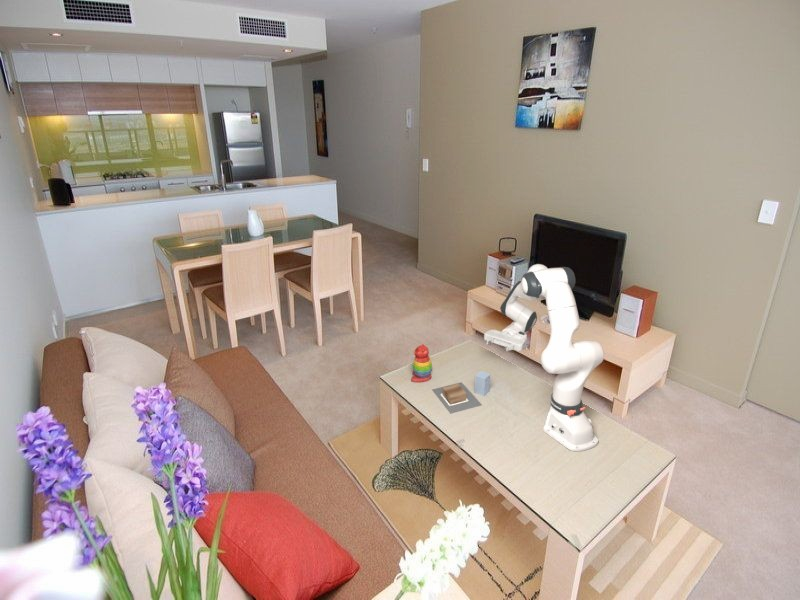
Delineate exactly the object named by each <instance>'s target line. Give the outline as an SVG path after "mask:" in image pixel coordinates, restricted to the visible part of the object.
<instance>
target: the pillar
mask: <svg viewBox="0 0 800 600" xmlns="http://www.w3.org/2000/svg"><path fill="white" fill-rule="evenodd" d="M474 378H475V379H474V393H475V394H477V395H479V396H481V397H486V396H487V394H489V392H490V388H491V387H490V385H491V373H489V372H486V371H483V370H480V371H479V372H477V374H475V377H474Z"/></svg>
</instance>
